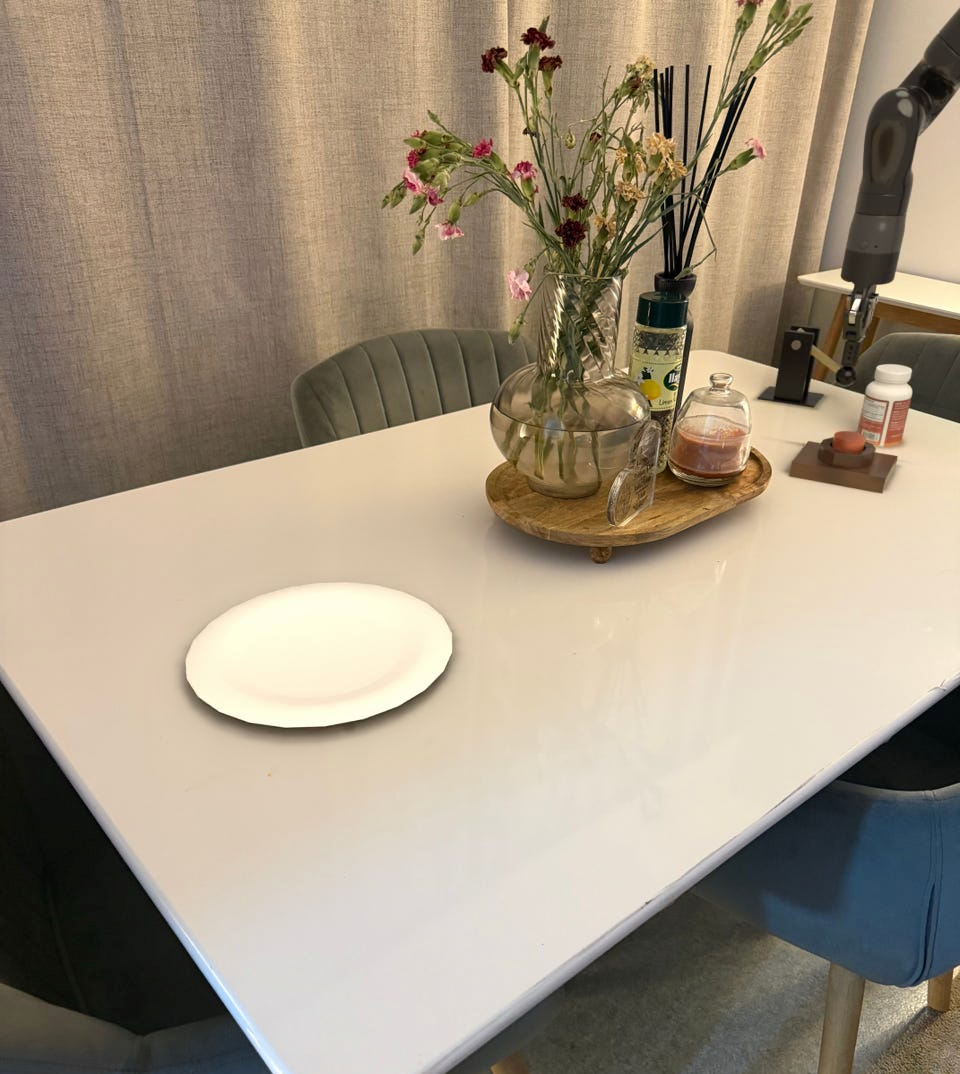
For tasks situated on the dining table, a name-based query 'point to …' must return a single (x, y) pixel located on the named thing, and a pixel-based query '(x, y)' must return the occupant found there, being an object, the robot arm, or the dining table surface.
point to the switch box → (844, 466)
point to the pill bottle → (886, 405)
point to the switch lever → (835, 367)
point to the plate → (319, 655)
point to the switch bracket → (795, 369)
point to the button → (848, 441)
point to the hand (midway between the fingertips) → (848, 365)
